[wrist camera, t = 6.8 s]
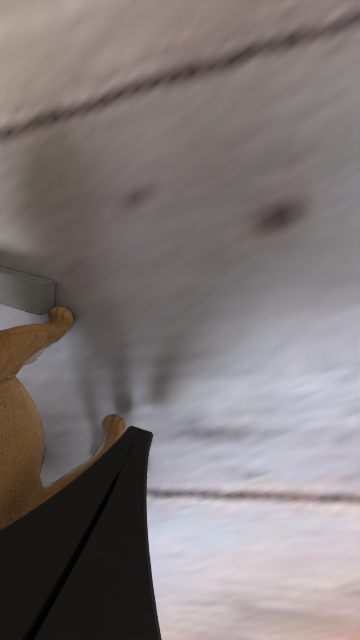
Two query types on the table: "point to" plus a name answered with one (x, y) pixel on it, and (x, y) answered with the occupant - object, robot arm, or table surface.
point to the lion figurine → (32, 421)
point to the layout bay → (26, 292)
